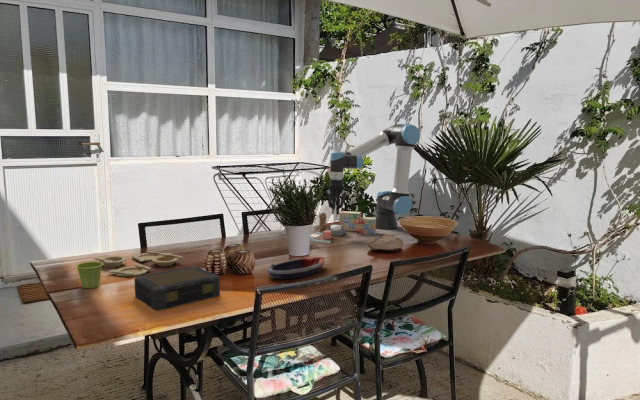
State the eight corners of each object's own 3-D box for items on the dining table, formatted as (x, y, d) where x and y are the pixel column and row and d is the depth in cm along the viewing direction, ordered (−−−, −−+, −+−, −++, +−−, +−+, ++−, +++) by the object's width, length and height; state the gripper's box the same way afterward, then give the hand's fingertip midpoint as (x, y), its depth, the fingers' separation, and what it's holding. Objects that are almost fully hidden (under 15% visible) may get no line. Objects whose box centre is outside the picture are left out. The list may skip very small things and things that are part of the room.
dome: (342, 231, 287) (342, 225, 286) (338, 233, 281) (339, 227, 281) (332, 230, 289) (332, 224, 289) (329, 232, 284) (329, 226, 283)
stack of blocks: (376, 233, 297) (376, 212, 295) (374, 235, 291) (374, 214, 290) (341, 230, 303) (341, 210, 302) (338, 232, 297) (339, 212, 296)
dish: (258, 276, 208) (258, 264, 207) (313, 263, 229) (313, 253, 228) (281, 285, 197) (281, 272, 196) (336, 270, 217) (336, 259, 217)
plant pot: (96, 281, 198) (95, 260, 197) (108, 286, 192) (107, 264, 191) (73, 286, 191) (71, 265, 190) (84, 292, 185) (83, 269, 184)
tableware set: (122, 281, 200) (122, 271, 200) (85, 268, 218) (84, 259, 217) (192, 263, 228) (192, 254, 227) (154, 253, 246) (154, 245, 245)
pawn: (328, 231, 293) (328, 212, 291) (324, 232, 288) (325, 213, 287) (320, 230, 295) (320, 211, 293) (316, 231, 290) (317, 212, 289)
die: (331, 237, 276) (331, 230, 276) (330, 239, 272) (330, 231, 272) (324, 237, 277) (324, 229, 276) (322, 239, 273) (323, 231, 272)
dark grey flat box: (195, 283, 198) (194, 264, 197) (221, 296, 183) (221, 276, 182) (132, 297, 181) (131, 276, 180) (156, 312, 166) (155, 290, 165)
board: (346, 235, 289) (346, 228, 289) (331, 243, 267) (331, 236, 267) (319, 232, 296) (319, 225, 295) (302, 240, 274) (303, 233, 273)
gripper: (323, 178, 280) (322, 220, 283) (345, 180, 275) (343, 222, 278) (328, 177, 287) (327, 218, 290) (349, 179, 282) (348, 220, 285)
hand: (335, 220), depth 284 cm, fingers closed
